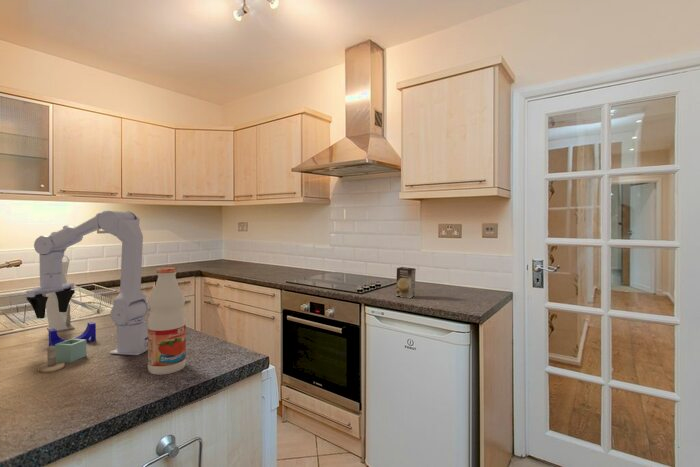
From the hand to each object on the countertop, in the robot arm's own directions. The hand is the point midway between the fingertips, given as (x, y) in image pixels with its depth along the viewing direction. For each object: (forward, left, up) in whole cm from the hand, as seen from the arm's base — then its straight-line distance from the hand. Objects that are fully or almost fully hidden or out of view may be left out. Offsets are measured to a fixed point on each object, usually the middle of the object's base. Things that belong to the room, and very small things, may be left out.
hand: (52, 314), depth 118 cm
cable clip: (-5, -2, -10) cm, 12 cm away
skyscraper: (+13, -15, -10) cm, 23 cm away
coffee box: (-115, -100, -10) cm, 153 cm away
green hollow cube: (-16, +9, -10) cm, 21 cm away
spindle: (-17, +16, -10) cm, 25 cm away
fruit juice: (-48, +11, -10) cm, 50 cm away
